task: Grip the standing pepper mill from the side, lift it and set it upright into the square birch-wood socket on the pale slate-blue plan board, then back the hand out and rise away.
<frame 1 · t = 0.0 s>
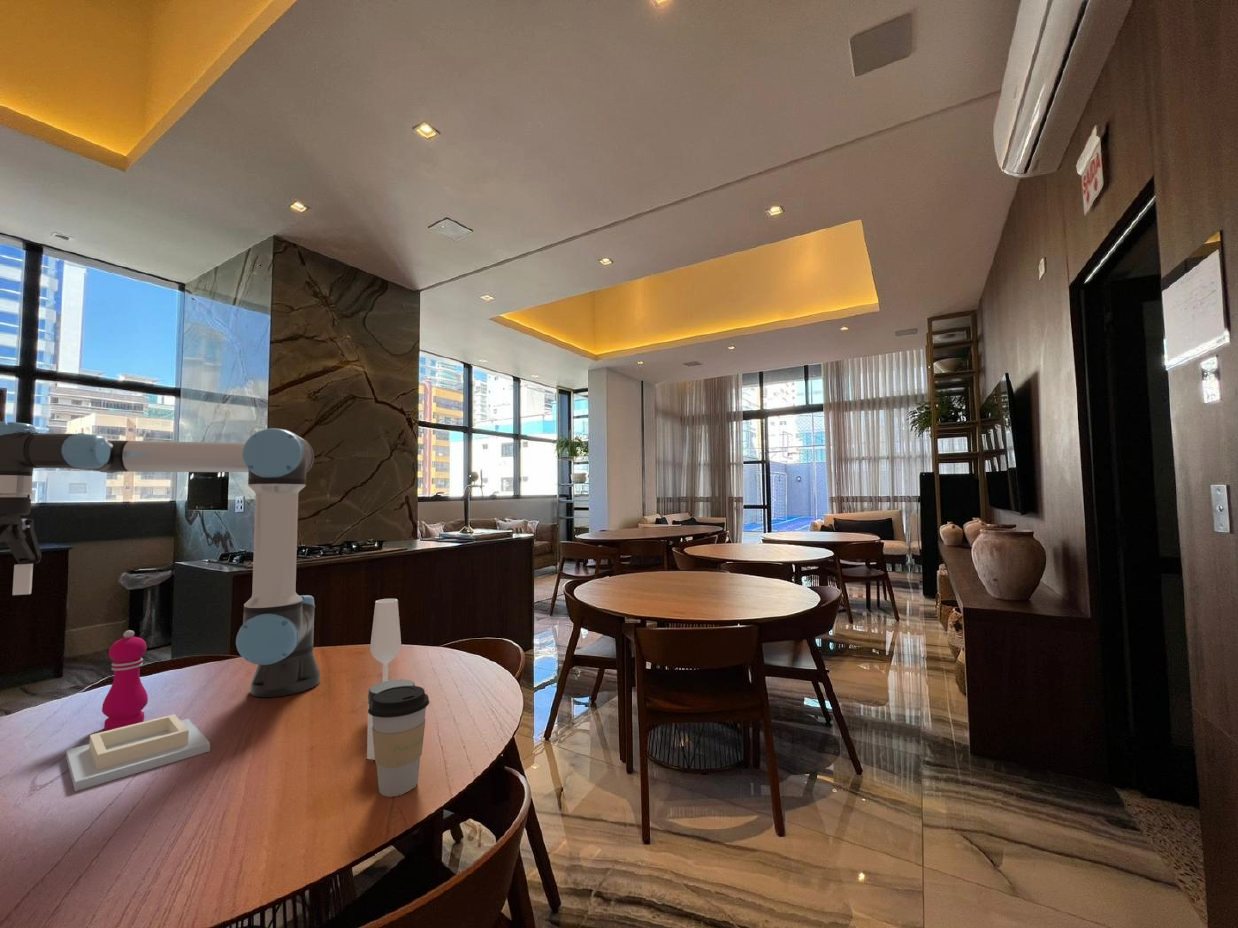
plan board: (138, 754, 100), on the table
jar: (391, 752, 100), on the table
pepper mill: (124, 725, 113), on the table
coffee cup: (398, 787, 87), on the table
champagne flute: (384, 706, 122), on the table
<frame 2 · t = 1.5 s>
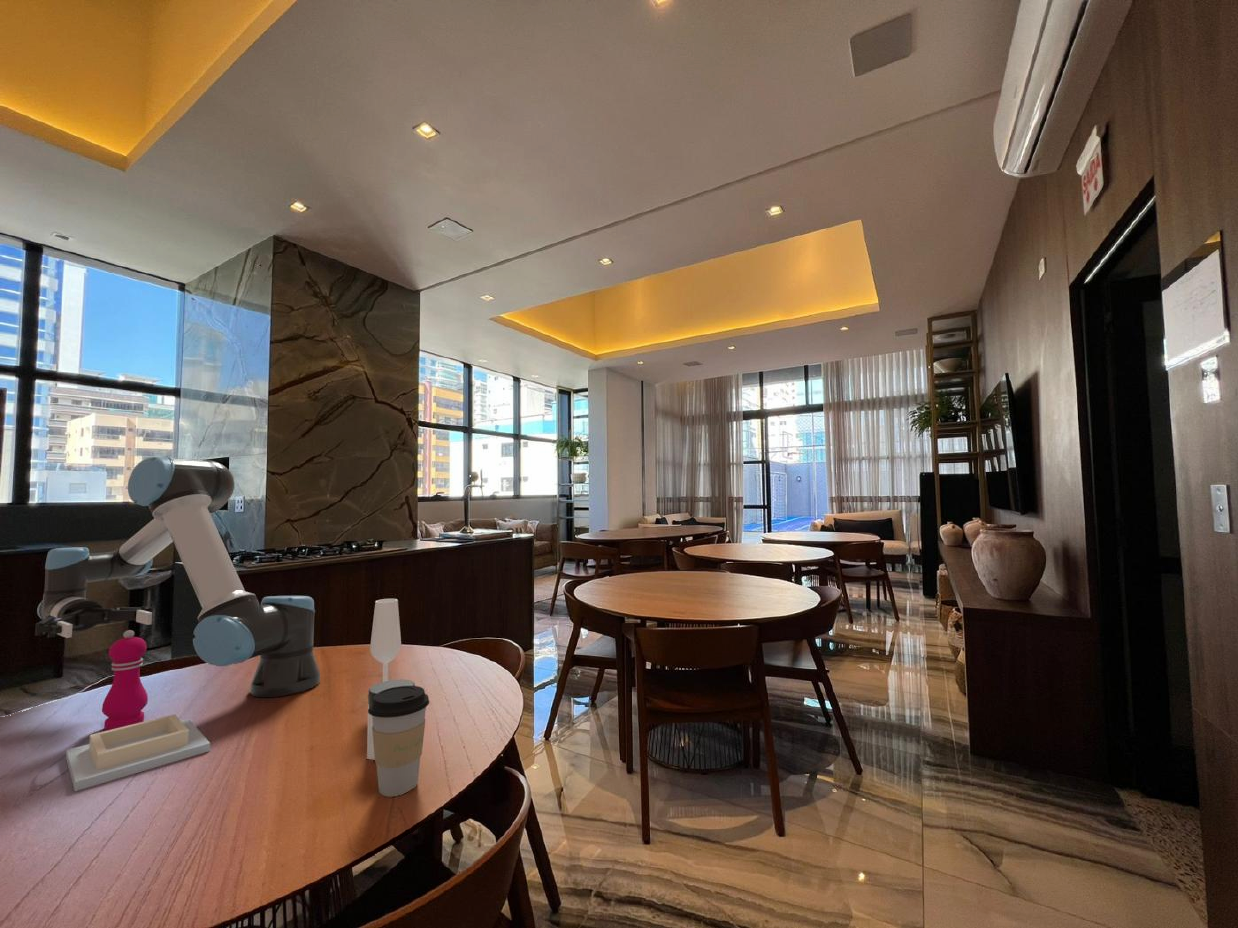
hand: (111, 624, 119), 20 cm above the table, tool horizontal, fingers open, 13 cm apart
nothing on the table moved.
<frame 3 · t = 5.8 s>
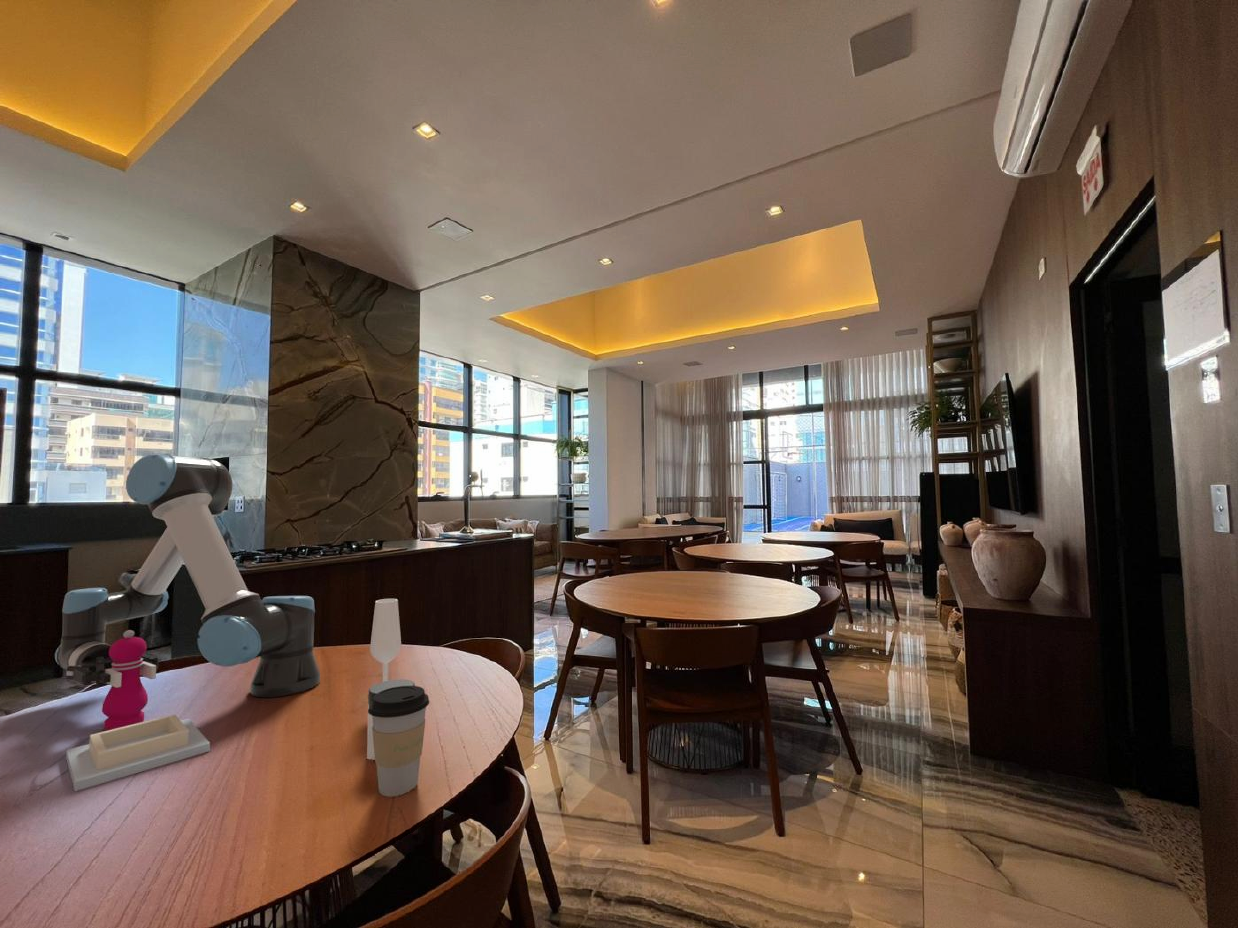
hand: (136, 676, 111), 11 cm above the table, tool horizontal, fingers closed on pepper mill, 5 cm apart
pepper mill: (124, 725, 113), on the table, touching gripper
everything else where it was.
when the fingers open (14 cm above the table, at t = 10.7 s): pepper mill drops 1 cm, resting on plan board.
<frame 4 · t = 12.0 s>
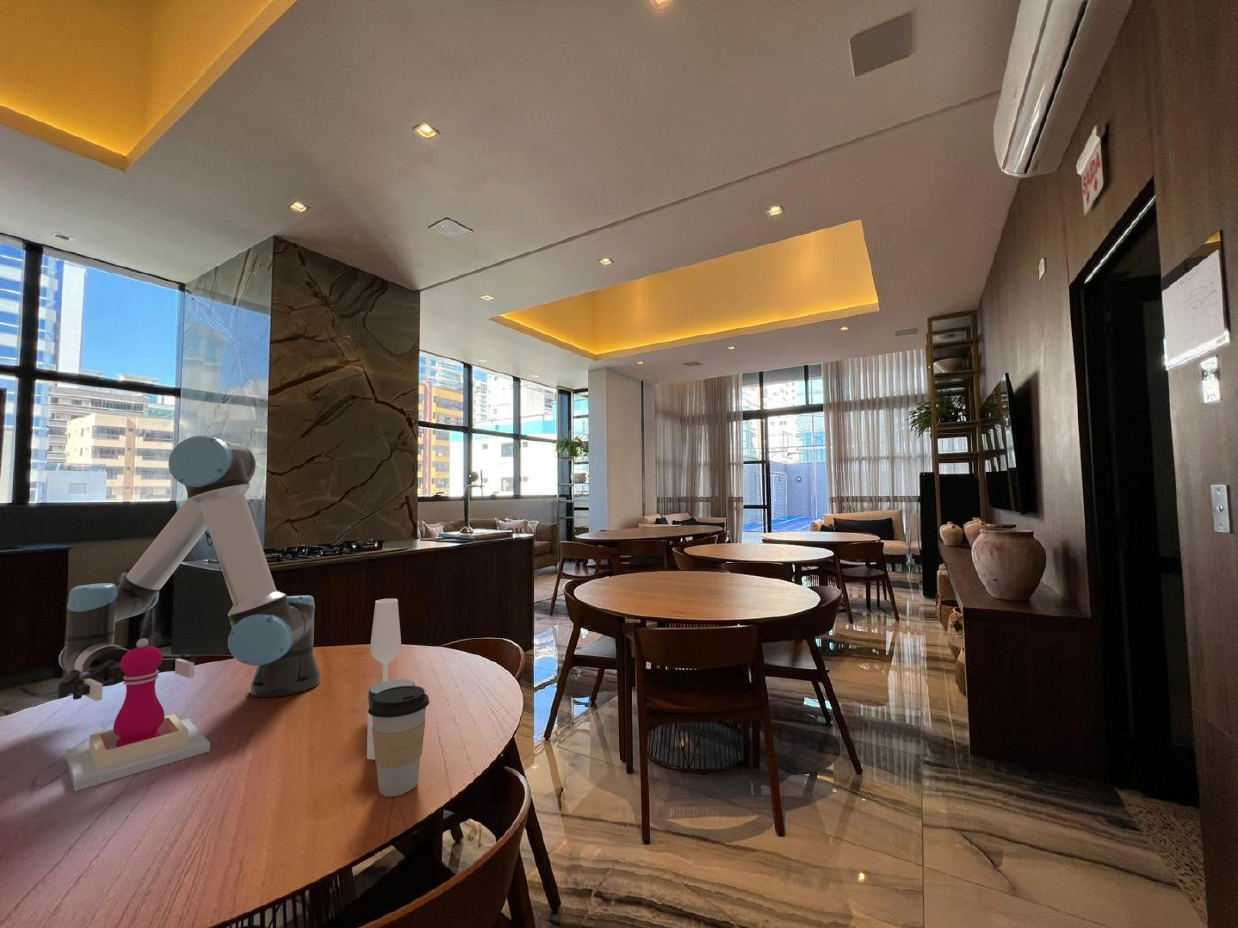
hand: (148, 680, 99), 14 cm above the table, tool horizontal, fingers open, 13 cm apart
pepper mill: (138, 747, 100), point 1 cm above the table, touching plan board
everything else where it was.
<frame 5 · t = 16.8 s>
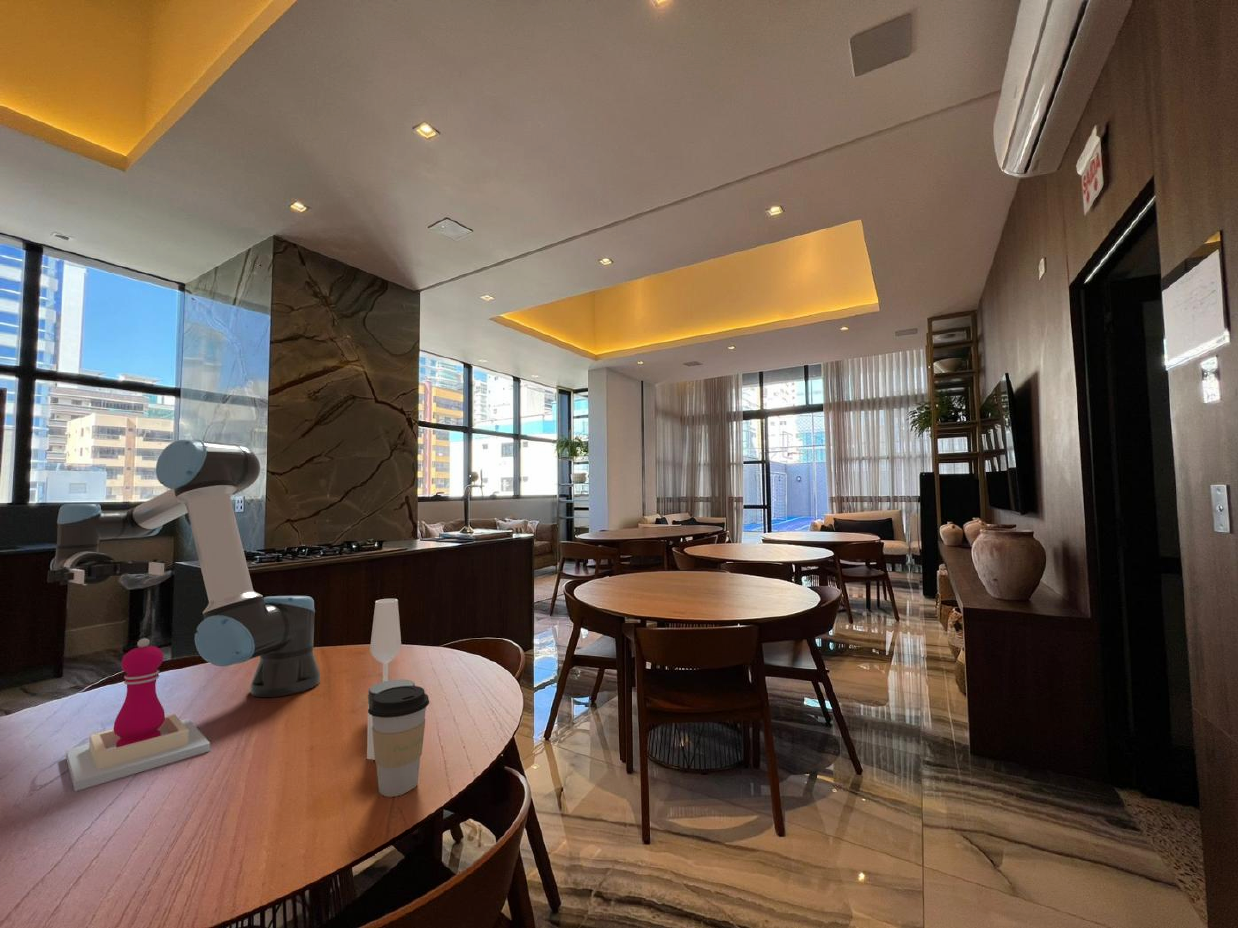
hand: (124, 573, 118), 32 cm above the table, tool horizontal, fingers open, 13 cm apart
nothing on the table moved.
at the end: pepper mill 0.1 cm off-centre on the plan board, point 1.3 cm above the plan board's base; pepper mill tilted 0°; the gripper is holding nothing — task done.
